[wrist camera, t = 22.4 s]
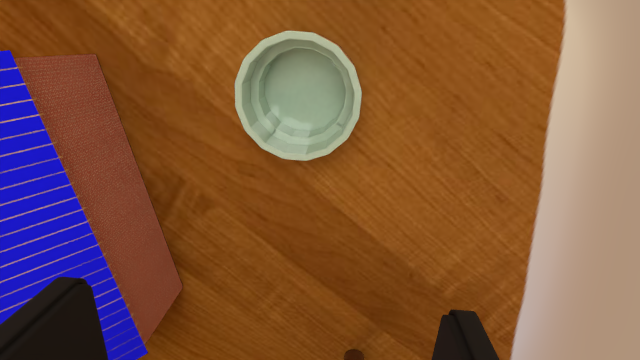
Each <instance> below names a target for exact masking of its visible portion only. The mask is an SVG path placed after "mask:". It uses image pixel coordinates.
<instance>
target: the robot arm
mask: <svg viewBox="0 0 640 360" xmlns="http://www.w3.org/2000/svg"><path fill="white" fill-rule="evenodd" d="M0 360H108V355H107V350H106V346H105V342H104V337H103V333H102V329H101V324H100V320H99V316H98V311H97V307H96V302H95V298H94V294H93V289H92V287H91V286H90V285H88V283H87V281H86V280H85V279H83V278H73V277H58V278H56V279H55V280H53V281H52V282H51V283H50V284H49V285H47V286H46V287H45V288H44V289H43V290H41V291H40V292H39V293H38V294H37V295H35V296H34V297H33V298H32V299H30V300H29V301H28V302H27V303H26V304H24V305H23V306H22V307H21V308H20V309H18V310H17V311H16V312H15V313H14V314H12V315H11V316H10V317H9V318H8V319H6V320H5V321H4V322H3V323H2V324H0ZM432 360H499V358H498V356H497V354H496V352H495V350H494V348H493V346H492V344H491V342H490V340H489V338H488V336H487V334H486V332H485V330H484V328H483V326H482V324H481V322H480V320H479V318H478V316H477V314H476V313H475V312H474V311H464V310H450V312H449V314H448V315H443V316H442V318H441V322H440V327H439V331H438V335H437V339H436V344H435V348H434V352H433V356H432Z"/></svg>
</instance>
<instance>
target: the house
mask: <svg viewBox="0 0 640 360" xmlns="http://www.w3.org/2000/svg"><path fill="white" fill-rule="evenodd" d="M58 277H73V278H83V279H85V280H86V281H87V283H88V285H90V286H91V287H92V289H93V294H94V298H95V302H96V307H97V311H98V316H99V320H100V324H101V329H102V333H103V337H104V342H105V346H106V350H107V355H108V360H136V359H138V358H140V357H141V356H143V355H145V354H147V353H148V352H147V350H146V348H145V344H146V343H147V341H148V340H149V338H150V336H151V335H152V333H153V332H154V330H155V329H156V327H157V326H158V324H159V323H160V321H161V320H162V318H163V317H164V315H165V314H166V312H167V311H168V309H169V308H170V306H171V305H172V303H173V302H174V300H175V299H176V297H177V295H178V294H179V292H180V291H181V289H182V288H183V286H182V283H181V280H180V278H179V275H178V272H177V270H176V267H175V264H174V262H173V259H172V256H171V254H170V251H169V248H168V246H167V243H166V241H165V238H164V235H163V233H162V230H161V227H160V225H159V222H158V219H157V217H156V214H155V211H154V209H153V206H152V203H151V201H150V198H149V195H148V193H147V190H146V187H145V185H144V182H143V179H142V177H141V174H140V171H139V169H138V166H137V163H136V161H135V158H134V155H133V153H132V150H131V147H130V145H129V142H128V139H127V137H126V134H125V131H124V129H123V126H122V123H121V121H120V118H119V115H118V113H117V110H116V107H115V105H114V102H113V99H112V97H111V94H110V91H109V89H108V86H107V83H106V81H105V78H104V75H103V73H102V70H101V67H100V65H99V62H98V59H97V57H96V54H84V55H65V56H45V57H26V58H13V56H12V54H11V52H10V50H8V51H0V324H2V323H3V322H4V321H5V320H6V319H8V318H9V317H10V316H11V315H12V314H14V313H15V312H16V311H17V310H18V309H20V308H21V307H22V306H23V305H24V304H26V303H27V302H28V301H29V300H30V299H32V298H33V297H34V296H35V295H37V294H38V293H39V292H40V291H41V290H43V289H44V288H45V287H46V286H47V285H49V284H50V283H51V282H52V281H53V280H55V279H56V278H58Z"/></svg>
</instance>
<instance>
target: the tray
mask: <svg viewBox="0 0 640 360" xmlns="http://www.w3.org/2000/svg"><path fill="white" fill-rule="evenodd" d="M344 360H364V355H363V354H362V353H361V352H360V351H358V350H350V351H348V352H346V354H345V356H344Z"/></svg>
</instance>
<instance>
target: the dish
mask: <svg viewBox="0 0 640 360" xmlns="http://www.w3.org/2000/svg"><path fill="white" fill-rule="evenodd" d="M361 97H362V90H361V87H360V83H359V80H358V76H357V73H356V69H355V66H354V64H353V62H352V60H351V59H350V58H349V57H348V55H347V54H346V53H345V51H344V50H343V49H342V48H341V46H340V45H338V44H337V43H335V42H333V41H331V40H330V39H328V38H326V37H324V36H322V35H320V34H317V33H313V32H300V31H284V32H282V33H279V34H276V35H274V36H271V37H268V38H266V39H263V40H262V41H261V42H260V43H259V44H258V45H257V46H256V47H255V48H254V49H253V50H252V51H251V52H250V53H249V54H248V55H247V56H246V57H245V58H244V59H243V62H242V65H241V67H240V70H239V72H238V75H237V78H236V80H235V107H236V110H237V113H238V115H239V118H240V120H241V122H242V125H243V127H244V130H245V131H246V132H247V133H248V134H249V135H250V137H251V138H252V139H253V140H254V141H255V142H256V143H257V144H258V145H259V146H260V147H261V148H262V149H264V150H266V151H268V152H270V153H272V154H274V155H276V156H278V157H280V158H282V159H290V160H302V161H306V160H307V161H308V160H311V159H315V158H318V157H321V156H325V155H328V154H330V153H331V152H332V151H333V150H335V149H336V148H337V147H338V146H340V145H341V144H342V143H343V142H345V141H346V140H347V139H348V137H349V135H350V134H351V132H352V130H353V128H354V126H355V124H356V123H357V121H358V119H359V115H360V106H361Z"/></svg>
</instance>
